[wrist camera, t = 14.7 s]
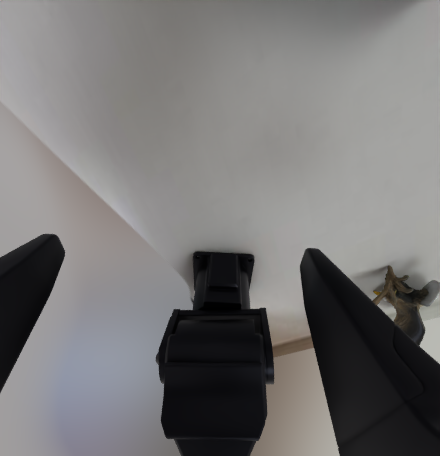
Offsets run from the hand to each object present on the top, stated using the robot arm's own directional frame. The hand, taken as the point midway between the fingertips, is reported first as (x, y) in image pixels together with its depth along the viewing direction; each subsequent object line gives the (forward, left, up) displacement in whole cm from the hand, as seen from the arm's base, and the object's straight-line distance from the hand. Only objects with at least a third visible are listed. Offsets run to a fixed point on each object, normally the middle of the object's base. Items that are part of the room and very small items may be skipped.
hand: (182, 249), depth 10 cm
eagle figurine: (-17, -22, -13) cm, 31 cm away
